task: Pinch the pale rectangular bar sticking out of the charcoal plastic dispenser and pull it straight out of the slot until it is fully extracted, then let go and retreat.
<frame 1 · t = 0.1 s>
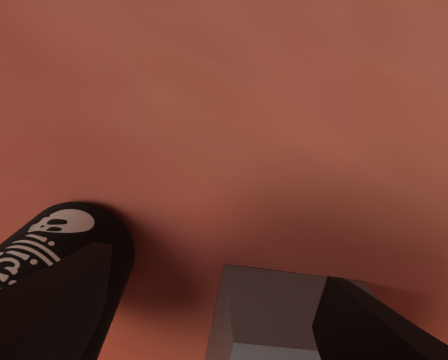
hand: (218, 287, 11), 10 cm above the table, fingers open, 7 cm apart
dispenser: (273, 356, 24), on the table
beverage can: (85, 244, 21), on the table
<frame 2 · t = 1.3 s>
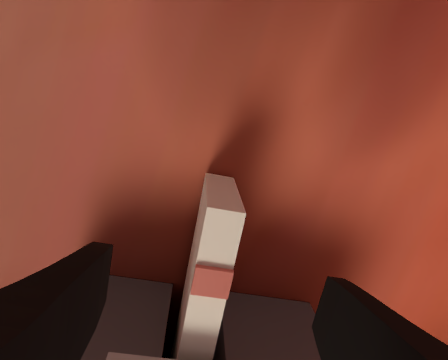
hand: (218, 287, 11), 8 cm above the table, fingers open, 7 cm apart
dispenser: (182, 356, 21), on the table
pale rectangular bar: (199, 305, 16), point 3 cm above the table, slide at 0.0 cm
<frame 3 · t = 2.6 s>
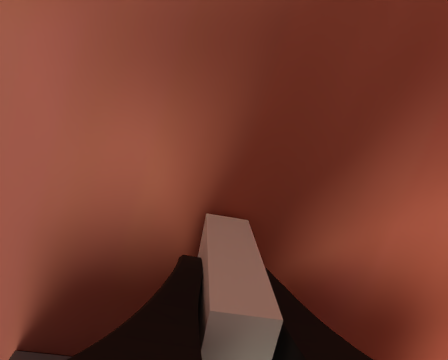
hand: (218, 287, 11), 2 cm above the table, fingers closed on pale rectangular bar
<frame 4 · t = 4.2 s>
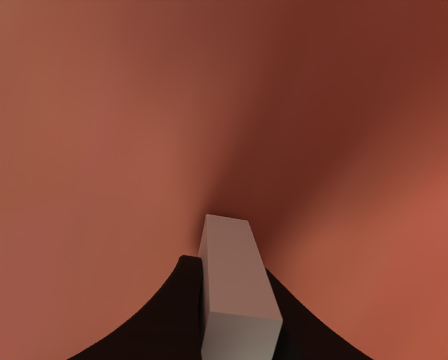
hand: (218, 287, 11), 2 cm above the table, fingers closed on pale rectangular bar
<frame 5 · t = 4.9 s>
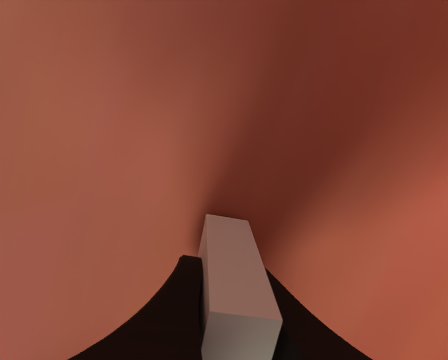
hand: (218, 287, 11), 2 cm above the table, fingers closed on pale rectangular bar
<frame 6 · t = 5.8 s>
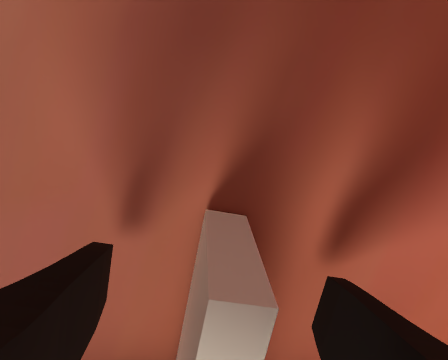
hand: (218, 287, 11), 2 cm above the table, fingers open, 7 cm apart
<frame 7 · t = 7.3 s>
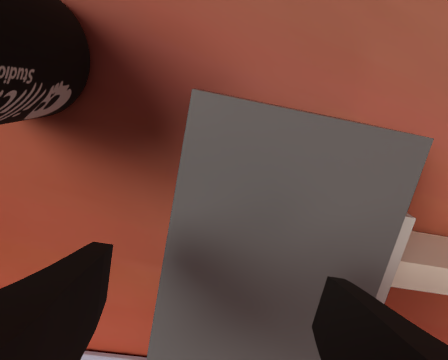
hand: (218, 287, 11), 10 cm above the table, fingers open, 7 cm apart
dispenser: (252, 213, 21), on the table
beverage can: (35, 55, 18), on the table
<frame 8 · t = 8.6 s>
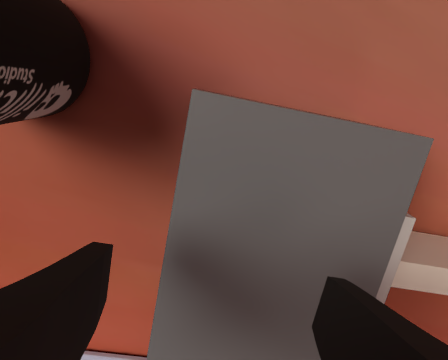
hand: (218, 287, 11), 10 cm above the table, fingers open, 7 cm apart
dispenser: (252, 213, 21), on the table
beverage can: (35, 55, 18), on the table
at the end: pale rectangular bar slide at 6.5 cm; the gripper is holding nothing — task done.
